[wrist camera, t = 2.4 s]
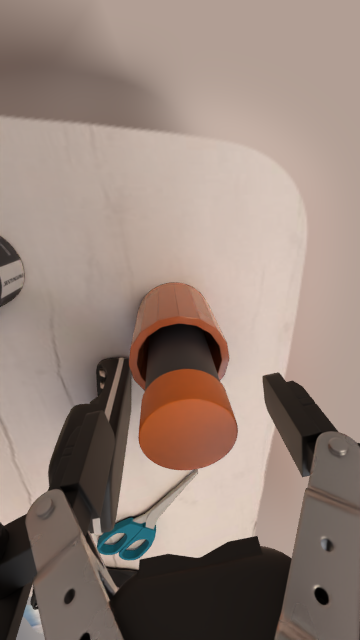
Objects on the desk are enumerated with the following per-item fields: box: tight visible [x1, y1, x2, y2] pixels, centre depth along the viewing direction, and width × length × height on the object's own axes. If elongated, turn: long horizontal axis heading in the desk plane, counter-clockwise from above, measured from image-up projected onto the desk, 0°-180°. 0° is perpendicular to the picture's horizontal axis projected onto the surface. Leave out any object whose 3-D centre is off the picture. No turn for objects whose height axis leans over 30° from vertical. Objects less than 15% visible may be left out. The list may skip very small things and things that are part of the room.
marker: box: [139, 323, 238, 470], centre depth 16 cm, size 4×4×12 cm
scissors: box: [97, 469, 198, 560], centre depth 33 cm, size 7×1×20 cm
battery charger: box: [48, 358, 131, 535], centre depth 19 cm, size 7×4×11 cm, turn 175°
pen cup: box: [129, 283, 229, 390], centre depth 19 cm, size 6×6×7 cm
